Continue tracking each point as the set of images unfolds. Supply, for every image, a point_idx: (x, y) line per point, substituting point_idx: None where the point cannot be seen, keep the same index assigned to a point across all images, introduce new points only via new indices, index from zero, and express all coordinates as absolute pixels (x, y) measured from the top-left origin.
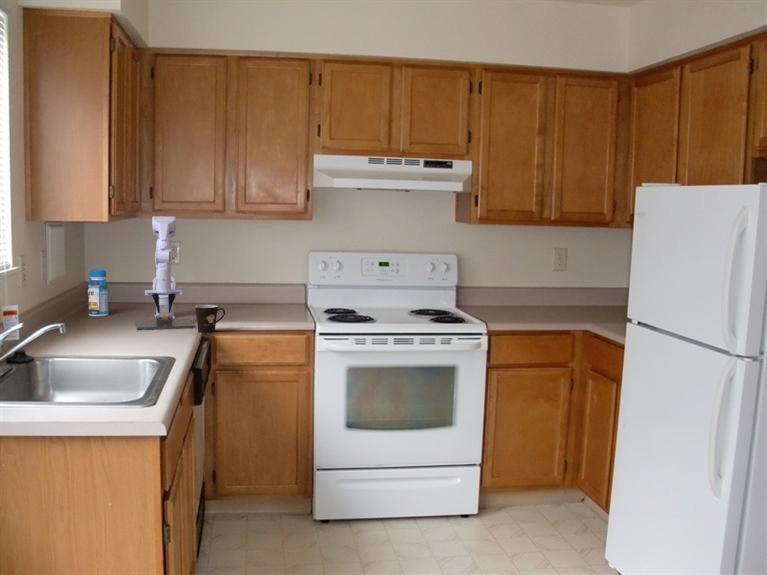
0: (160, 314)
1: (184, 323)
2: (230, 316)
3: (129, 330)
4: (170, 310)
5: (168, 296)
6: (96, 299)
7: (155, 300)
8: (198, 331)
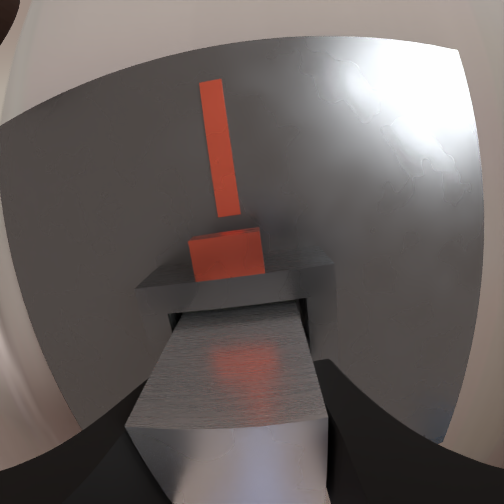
0: (290, 327)
1: (56, 247)
2: (7, 465)
3: (486, 69)
4: (136, 389)
5: None
6: None
7: (481, 480)
8: (18, 1)
